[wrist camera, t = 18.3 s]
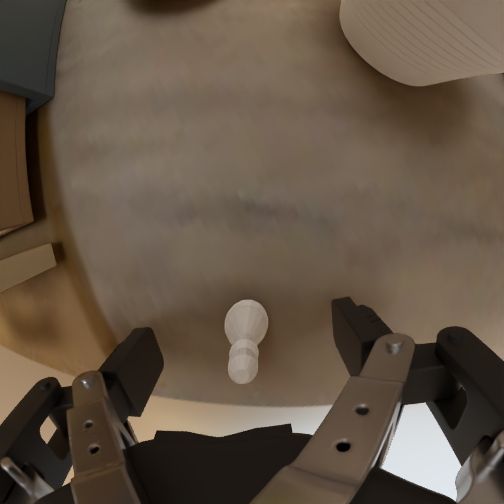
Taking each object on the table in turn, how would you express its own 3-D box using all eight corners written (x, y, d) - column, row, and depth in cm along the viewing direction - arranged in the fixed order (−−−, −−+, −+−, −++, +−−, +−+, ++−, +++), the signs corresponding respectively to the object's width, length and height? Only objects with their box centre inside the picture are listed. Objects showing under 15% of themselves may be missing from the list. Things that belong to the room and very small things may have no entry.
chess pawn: (229, 294, 12) (217, 339, 8) (273, 301, 12) (280, 349, 8) (221, 342, 13) (209, 397, 9) (262, 349, 13) (264, 405, 9)
